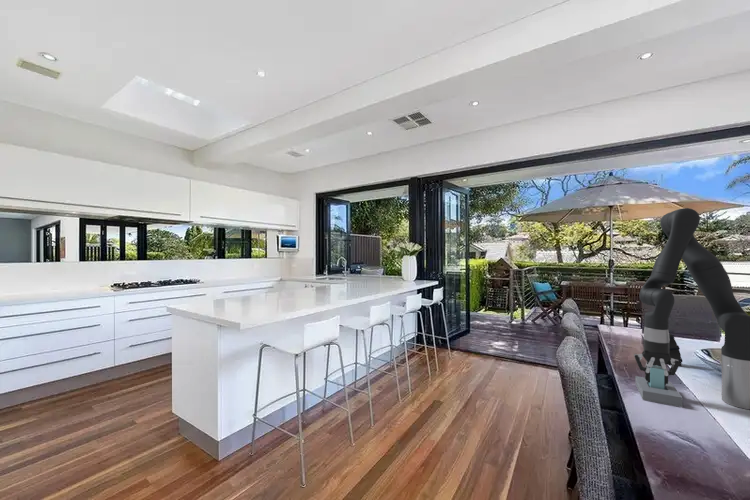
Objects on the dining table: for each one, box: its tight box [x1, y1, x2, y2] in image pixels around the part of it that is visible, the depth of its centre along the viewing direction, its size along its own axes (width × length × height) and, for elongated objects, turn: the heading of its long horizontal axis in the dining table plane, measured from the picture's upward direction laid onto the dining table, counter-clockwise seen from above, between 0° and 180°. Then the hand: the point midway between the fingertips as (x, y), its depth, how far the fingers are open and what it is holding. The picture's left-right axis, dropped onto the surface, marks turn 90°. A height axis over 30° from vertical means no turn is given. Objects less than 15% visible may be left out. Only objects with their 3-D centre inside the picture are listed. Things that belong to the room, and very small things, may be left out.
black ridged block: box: [666, 333, 683, 368], centre depth 156 cm, size 4×13×15 cm, turn 51°
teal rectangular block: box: [649, 365, 664, 389], centre depth 123 cm, size 4×4×8 cm
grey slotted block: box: [635, 375, 683, 408], centre depth 123 cm, size 16×11×4 cm
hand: (656, 382), depth 123 cm, fingers closed on teal rectangular block, 4 cm apart
